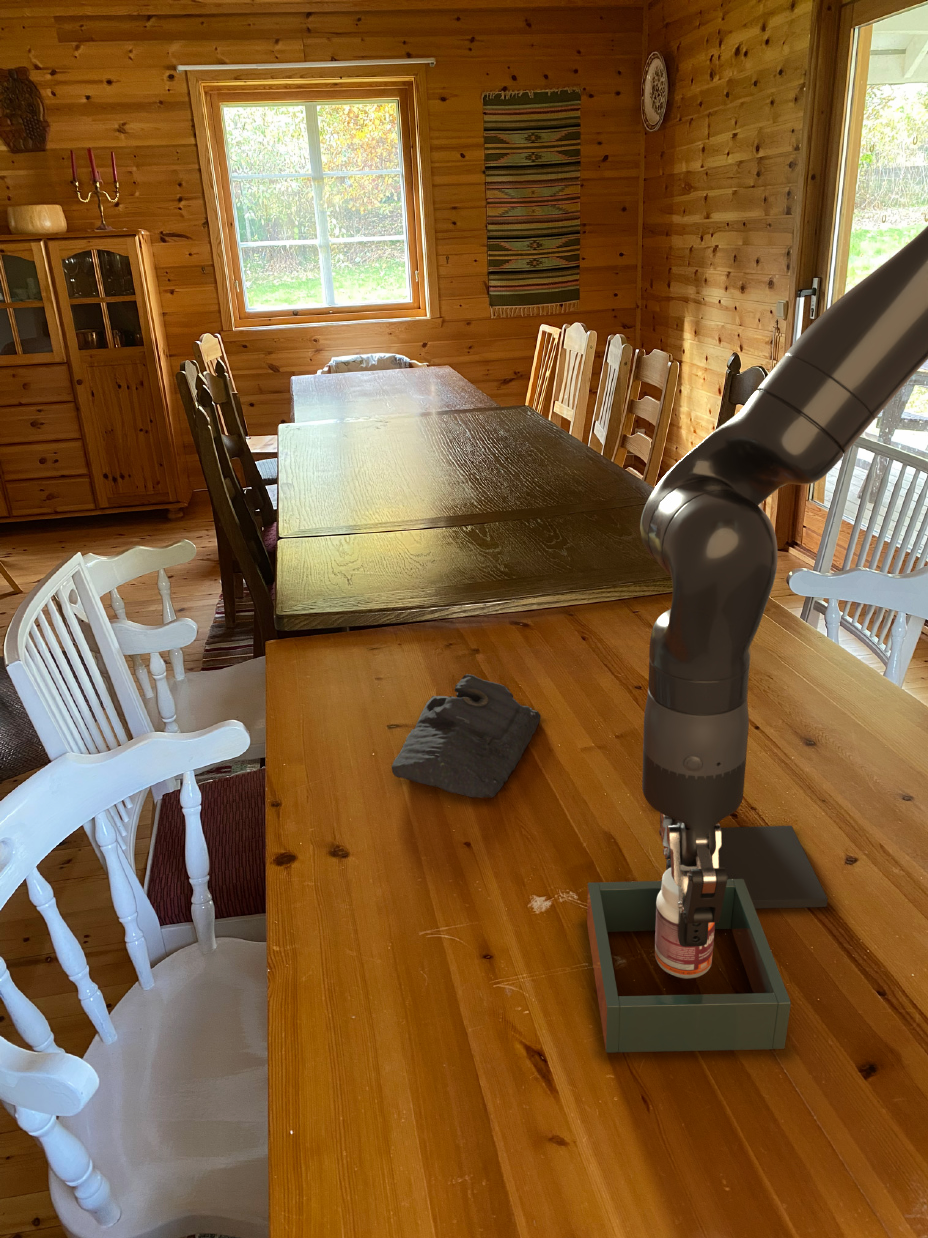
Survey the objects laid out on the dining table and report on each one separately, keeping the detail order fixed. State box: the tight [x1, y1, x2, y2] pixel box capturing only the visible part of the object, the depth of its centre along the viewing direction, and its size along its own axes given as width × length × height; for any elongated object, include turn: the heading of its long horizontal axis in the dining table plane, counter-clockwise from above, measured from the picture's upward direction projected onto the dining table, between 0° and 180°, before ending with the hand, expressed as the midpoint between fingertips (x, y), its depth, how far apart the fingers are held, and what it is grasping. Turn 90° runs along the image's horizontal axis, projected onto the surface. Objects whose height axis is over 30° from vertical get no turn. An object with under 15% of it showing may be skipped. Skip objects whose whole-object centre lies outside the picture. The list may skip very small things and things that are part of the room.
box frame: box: [586, 879, 792, 1054], centre depth 77 cm, size 14×14×5 cm
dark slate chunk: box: [391, 673, 541, 799], centre depth 112 cm, size 15×22×5 cm
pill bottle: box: [654, 865, 716, 979], centre depth 75 cm, size 5×5×8 cm
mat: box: [719, 825, 829, 910], centre depth 90 cm, size 11×11×1 cm
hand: (685, 918), depth 75 cm, fingers closed on pill bottle, 4 cm apart
